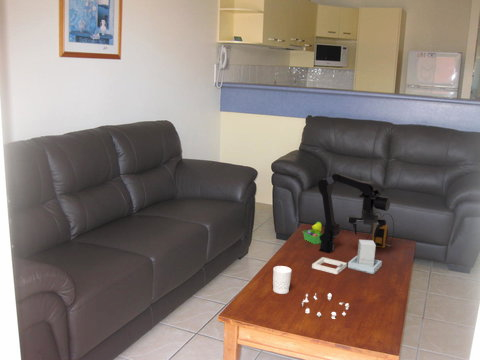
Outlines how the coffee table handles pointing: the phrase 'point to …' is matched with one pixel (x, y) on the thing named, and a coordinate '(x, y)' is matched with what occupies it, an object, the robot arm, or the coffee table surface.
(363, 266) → the tray
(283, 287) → the white cup
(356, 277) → the coffee table surface
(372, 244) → the supplement box
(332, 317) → the game piece set
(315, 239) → the fruit basket
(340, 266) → the frame
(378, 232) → the multimeter
